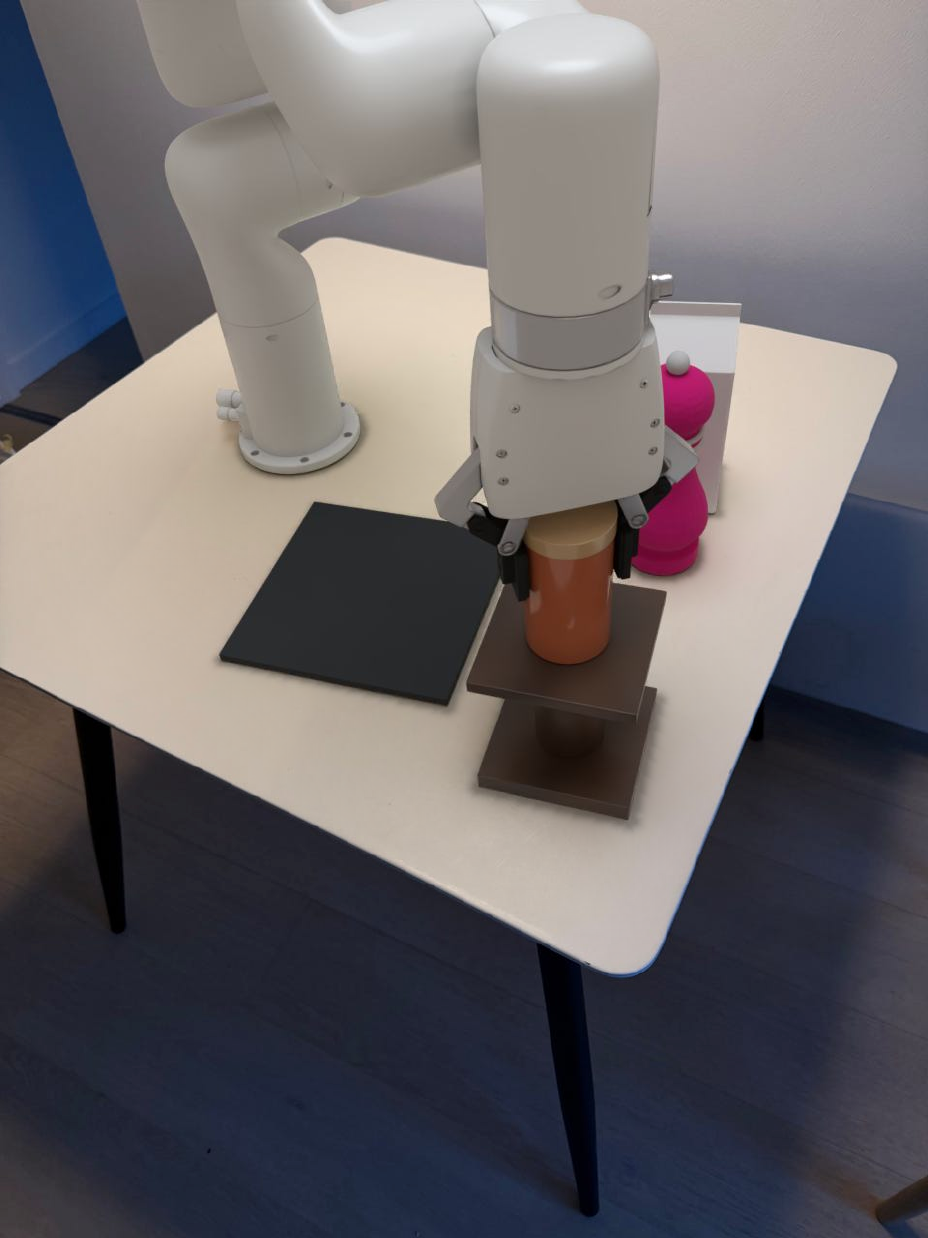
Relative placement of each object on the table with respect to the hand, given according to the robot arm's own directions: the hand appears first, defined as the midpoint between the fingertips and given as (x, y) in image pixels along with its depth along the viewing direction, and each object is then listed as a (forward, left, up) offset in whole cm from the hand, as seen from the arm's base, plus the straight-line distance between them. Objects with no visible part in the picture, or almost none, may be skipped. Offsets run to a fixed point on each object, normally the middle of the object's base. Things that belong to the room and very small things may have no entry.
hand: (567, 572), depth 61 cm
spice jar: (0, 0, -6) cm, 6 cm away
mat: (-20, +11, -18) cm, 29 cm away
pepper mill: (+3, +22, -18) cm, 28 cm away
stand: (0, 0, -18) cm, 18 cm away
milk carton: (+3, +31, -18) cm, 36 cm away
